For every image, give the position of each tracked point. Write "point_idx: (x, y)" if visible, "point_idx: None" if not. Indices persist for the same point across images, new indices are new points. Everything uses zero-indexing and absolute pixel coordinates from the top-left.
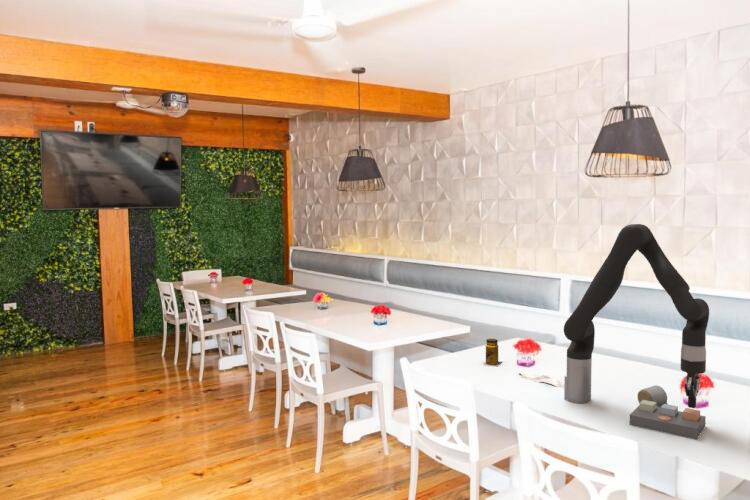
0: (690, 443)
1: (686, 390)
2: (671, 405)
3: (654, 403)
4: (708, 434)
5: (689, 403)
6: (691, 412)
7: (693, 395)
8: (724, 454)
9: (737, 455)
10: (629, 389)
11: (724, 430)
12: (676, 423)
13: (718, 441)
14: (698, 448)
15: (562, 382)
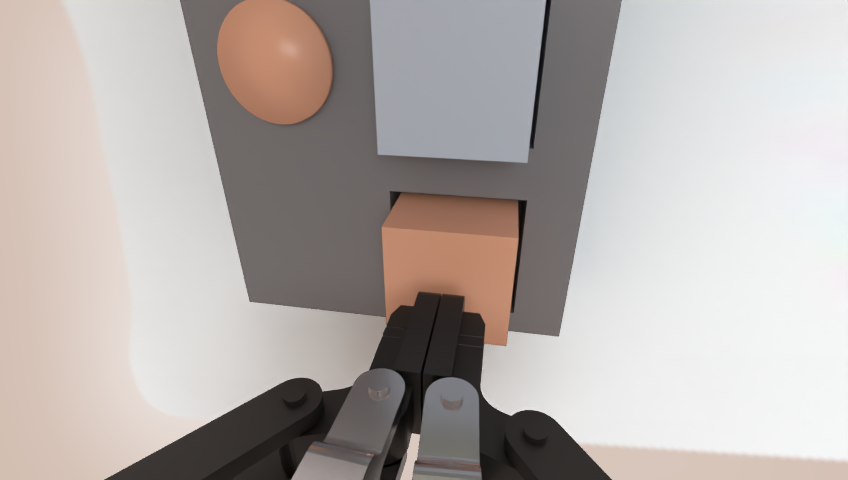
0: (202, 239)
1: (143, 471)
2: (522, 92)
3: None
4: None
5: (388, 328)
6: (406, 290)
7: (266, 465)
8: (199, 368)
9: (231, 405)
10: None
11: (539, 373)
12: (243, 174)
13: (339, 349)
14: (171, 277)
15: None
